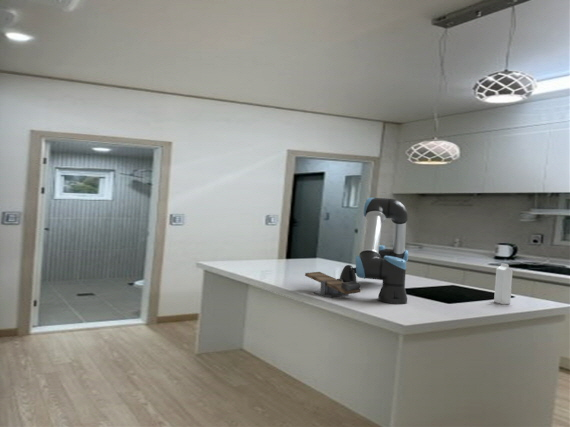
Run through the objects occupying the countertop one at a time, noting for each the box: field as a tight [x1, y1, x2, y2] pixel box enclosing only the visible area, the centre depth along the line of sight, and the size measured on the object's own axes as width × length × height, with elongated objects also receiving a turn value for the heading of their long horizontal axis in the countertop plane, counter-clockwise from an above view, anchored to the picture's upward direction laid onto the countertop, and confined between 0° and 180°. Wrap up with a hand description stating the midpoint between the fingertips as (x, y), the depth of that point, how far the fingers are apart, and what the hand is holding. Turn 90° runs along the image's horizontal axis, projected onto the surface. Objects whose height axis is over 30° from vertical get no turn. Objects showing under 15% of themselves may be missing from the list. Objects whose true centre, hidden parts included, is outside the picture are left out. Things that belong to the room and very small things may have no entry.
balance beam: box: [304, 271, 362, 295], centre depth 259 cm, size 30×12×4 cm, turn 45°
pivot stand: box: [313, 278, 349, 299], centre depth 260 cm, size 12×15×8 cm
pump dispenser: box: [339, 264, 358, 283], centre depth 273 cm, size 10×10×15 cm
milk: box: [493, 262, 514, 305], centre depth 265 cm, size 6×6×22 cm
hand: (356, 274), depth 281 cm, fingers open, 13 cm apart
